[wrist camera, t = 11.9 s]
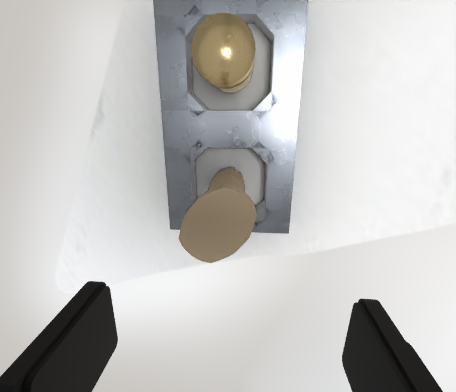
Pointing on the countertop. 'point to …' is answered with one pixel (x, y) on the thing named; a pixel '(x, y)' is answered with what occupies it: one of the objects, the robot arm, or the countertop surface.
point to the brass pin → (224, 51)
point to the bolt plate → (231, 120)
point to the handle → (219, 219)
